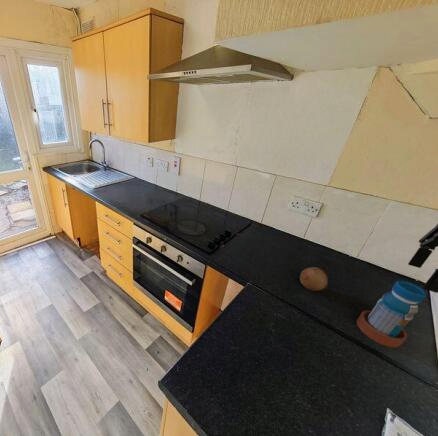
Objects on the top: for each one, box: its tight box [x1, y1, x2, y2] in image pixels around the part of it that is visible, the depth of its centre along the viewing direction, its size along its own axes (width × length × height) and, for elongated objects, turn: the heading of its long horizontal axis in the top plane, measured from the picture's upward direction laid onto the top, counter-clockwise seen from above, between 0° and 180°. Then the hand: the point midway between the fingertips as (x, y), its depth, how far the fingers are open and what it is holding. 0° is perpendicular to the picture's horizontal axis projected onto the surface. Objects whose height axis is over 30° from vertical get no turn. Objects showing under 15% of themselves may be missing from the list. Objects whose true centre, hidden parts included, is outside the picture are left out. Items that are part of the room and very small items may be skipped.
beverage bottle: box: [366, 280, 428, 338], centre depth 75 cm, size 8×8×20 cm
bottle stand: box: [356, 310, 408, 348], centre depth 79 cm, size 12×12×4 cm
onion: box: [299, 266, 329, 292], centre depth 96 cm, size 10×10×10 cm
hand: (421, 277), depth 69 cm, fingers open, 13 cm apart
